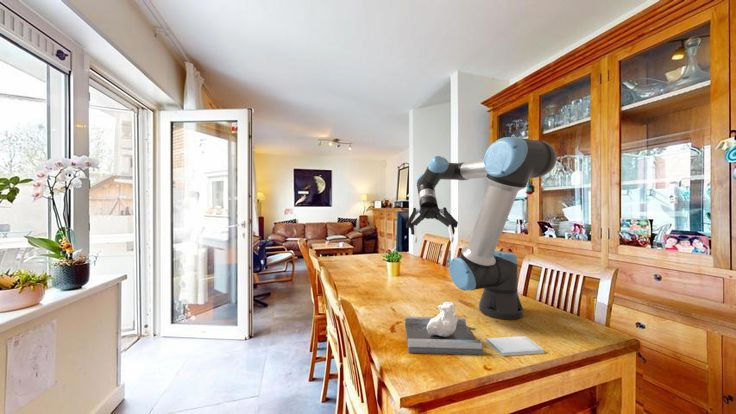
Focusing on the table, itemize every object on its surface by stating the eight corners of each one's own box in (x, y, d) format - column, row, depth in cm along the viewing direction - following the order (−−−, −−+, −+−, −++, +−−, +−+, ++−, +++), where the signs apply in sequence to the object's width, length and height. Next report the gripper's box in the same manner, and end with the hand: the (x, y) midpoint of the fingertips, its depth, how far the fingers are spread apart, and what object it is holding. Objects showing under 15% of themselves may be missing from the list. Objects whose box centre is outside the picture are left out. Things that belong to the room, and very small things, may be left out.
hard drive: (501, 352, 73) (544, 348, 74) (485, 337, 81) (524, 334, 82) (502, 358, 73) (544, 355, 74) (485, 343, 81) (524, 340, 82)
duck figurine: (430, 347, 80) (448, 325, 74) (416, 324, 85) (432, 302, 79) (457, 336, 86) (476, 315, 81) (443, 315, 92) (459, 294, 86)
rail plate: (464, 325, 92) (464, 317, 92) (482, 354, 74) (482, 343, 74) (404, 324, 93) (404, 315, 93) (408, 352, 75) (408, 342, 75)
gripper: (455, 207, 120) (465, 246, 105) (399, 207, 122) (400, 246, 107) (458, 194, 114) (469, 233, 99) (399, 195, 116) (401, 234, 101)
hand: (434, 240), depth 103 cm, fingers open, 13 cm apart
